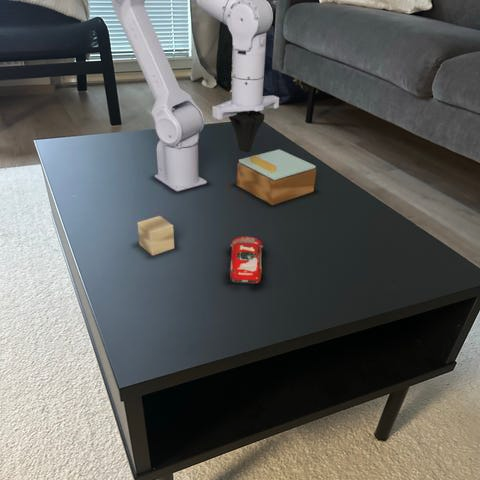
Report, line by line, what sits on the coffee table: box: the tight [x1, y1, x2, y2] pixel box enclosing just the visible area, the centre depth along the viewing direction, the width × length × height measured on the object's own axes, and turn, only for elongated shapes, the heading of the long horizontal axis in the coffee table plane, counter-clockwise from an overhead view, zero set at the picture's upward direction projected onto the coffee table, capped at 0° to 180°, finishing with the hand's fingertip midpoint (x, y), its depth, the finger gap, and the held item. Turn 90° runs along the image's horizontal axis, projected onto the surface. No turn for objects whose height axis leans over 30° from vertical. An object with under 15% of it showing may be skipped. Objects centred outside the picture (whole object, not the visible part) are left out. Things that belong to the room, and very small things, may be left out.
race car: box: [229, 235, 264, 285], centre depth 84 cm, size 13×5×4 cm, turn 177°
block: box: [137, 215, 175, 256], centre depth 87 cm, size 4×4×4 cm
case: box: [236, 162, 317, 206], centre depth 108 cm, size 12×12×5 cm
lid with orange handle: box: [238, 148, 316, 180], centre depth 106 cm, size 12×12×2 cm
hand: (244, 150), depth 99 cm, fingers closed
